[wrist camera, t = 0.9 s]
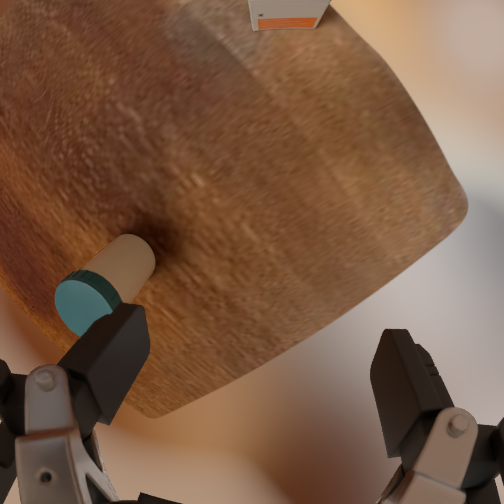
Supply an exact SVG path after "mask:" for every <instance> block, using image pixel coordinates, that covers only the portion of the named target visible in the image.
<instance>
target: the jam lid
mask: <svg viewBox="0 0 504 504" xmlns="http://www.w3.org/2000/svg"><path fill="white" fill-rule="evenodd" d="M121 302H123V301H122V299H121V297H120V295H119V293H118V292H117V290H116V289H115V288H114V287H113V285H112V284H111V283H110V282H109V281H108V280H106V279H105V278H104V277H103V276H101V275H99V274H97V273H96V272H93V271H89V270H80V269H79V270H78V271H75V272H74V271H73V272H72V273H71V274H70V275H68V276H67V277H66V278H65V279H64V280H63V281H62V282H61V284H60V285H59V286H58V287H57V289H56V293H55V304H56V308H57V310H58V313H59V315H60V317H61V318H62V320H63V321H64V323H65V324H66V325H67V326H68V327H69V328H70V329H71V330H72V331H73V332H74V333H75V334H77V335H78V336H80V337H81V336H82V335H83V334H84V333H85V331H86V332H87V329H88V328H89V327H90V326H91V325H92V324H93V322H94V321H95V320H97V319H99V318H101V317H102V316H104V315H106V314H111V313H112V312H113V310H114V309H115V308H116V307H117V306H118V305H119V304H120V303H121Z"/></svg>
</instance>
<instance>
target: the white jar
mask: <svg viewBox="0 0 504 504" xmlns="http://www.w3.org/2000/svg"><path fill="white" fill-rule="evenodd" d="M154 269H155V256H154V253H153V251H152V249H151V248H150V246H149V245H148V244H147V243H146V242H145V241H144V240H143V239H142V238H140V237H138V236H136V235H132V234H123V235H120V236H118V237H116V238H115V239H114V240H113V241H111V242H110V243H109V244H108V245H107V246H106V247H104V248H103V249H102V250H101V251H100V252H99V253H98V254H96V255H95V256H94V257H93V258H92V259H91V260H90V261H89V262H88V263H86V264H85V265H84V266H83V267H82V268H81V269H80V270H89V271H93V272H96V273H97V274H99V275H101V276H103V277H104V278H105V279H106V280H108V281H109V282H110V283H111V284H112V285H113V287H114V288H115V289H116V290H117V292H118V293H119V295H120V297H121V299H122V301H123V302H124V303H130V304H132V302H133V301H134V299H135V298H136V296H137V295H138V294H139V292H140V291H141V289H142V288H143V286H144V285H145V284H146V282H147V281H148V279H149V278H150V276H151V275H152V274H153V272H154Z"/></svg>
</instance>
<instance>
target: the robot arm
mask: <svg viewBox="0 0 504 504" xmlns="http://www.w3.org/2000/svg"><path fill="white" fill-rule="evenodd" d="M149 351H150V339H149V333H148V327H147V321H146V315H145V310H144V307H143V306H142V305H136V304H130V303H124V302H121V303H120V304H119V305H118V306H117V307H116V308H115V309H114V310H113V312H112V313H111V314H106V315H104V316H102V317H101V318H99V319H97V320H95V321H94V322H93V324H92V325H91V326H90V327H89V328H88V329H87V332H86V331H85V333H84V334H83V335H82V336H81V339H78V341H77V342H76V343H75V344H74V345H73V346H72V347H71V349H70V350H69V351H68V352H67V353H66V354H65V356H64V357H63V358H62V359H61V360H60V362H59V363H58V364H57V365H53V364H47V365H42V366H39V367H37V368H35V369H34V370H33V371H31V373H30V374H29V375H21V374H13V373H11V371H10V369H9V367H8V366H7V364H6V362H5V361H3V360H1V359H0V420H1V421H2V422H1V424H0V504H3V503H4V501H5V499H6V497H7V495H8V492H9V491H10V489H11V487H12V485H13V482H14V481H15V479H16V477H17V479H18V487H19V494H20V501H21V504H181V503H177V502H173V501H169V500H165V499H162V498H158V497H154V496H151V495H148V494H144V493H140V495H139V497H138V500H137V501H136V500H121V501H120V500H119V498H118V496H117V494H116V492H115V490H114V488H113V486H112V484H111V483H110V480H109V478H108V476H107V472H106V469H105V466H104V463H103V459H102V456H101V452H100V449H99V445H98V441H97V438H96V433H95V430H94V429H93V428H94V426H95V424H96V422H100V423H103V424H106V425H110V424H111V422H112V420H113V418H114V416H115V414H116V413H117V411H118V409H119V407H120V405H121V404H122V402H123V400H124V398H125V396H126V395H127V393H128V391H129V389H130V387H131V386H132V384H133V382H134V380H135V379H136V377H137V375H138V373H139V372H140V370H141V368H142V366H143V365H144V363H145V361H146V359H147V357H148V355H149ZM434 365H435V364H434V362H433V360H432V358H431V356H430V354H429V353H428V352H427V351H426V350H425V349H424V348H423V347H422V346H421V345H420V344H415V343H414V341H413V339H412V337H411V336H410V333H409V332H408V330H406V329H385V330H384V331H383V333H382V336H381V339H380V342H379V345H378V348H377V351H376V353H375V356H374V359H373V361H372V365H371V369H370V380H371V385H372V388H373V392H374V397H375V401H376V405H377V409H378V413H379V417H380V421H381V426H382V431H383V436H384V440H385V445H386V450H387V455H388V458H392V457H400V456H401V460H402V463H401V465H400V466H399V467H398V469H397V471H396V472H395V474H394V476H393V477H392V479H391V480H390V482H389V484H388V485H387V487H386V488H385V490H384V491H383V493H382V494H381V496H380V497H379V499H378V500H377V502H376V503H375V504H501V502H500V499H499V495H498V490H497V486H496V483H495V478H496V477H497V476H498V475H499V474H500V475H501V478H502V482H503V485H504V418H503V419H502V420H501V421H500V422H499V424H498V425H497V426H490V425H481V424H477V423H476V420H475V418H474V417H473V416H472V415H471V414H470V413H469V412H467V411H466V410H464V409H461V408H457V407H455V406H454V404H453V402H452V400H451V397H450V395H449V393H448V391H447V389H446V387H445V385H444V382H443V380H442V378H441V376H440V375H439V372H438V370H437V368H436V367H435V366H434Z"/></svg>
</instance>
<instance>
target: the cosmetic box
mask: <svg viewBox="0 0 504 504" xmlns="http://www.w3.org/2000/svg"><path fill="white" fill-rule="evenodd" d="M330 1H331V0H248V3H249V9H250V16H251V22H252V28H253V31H260V30H273V29H315V28H316V26H317V25H318V23H319V21H320V19H321V17H322V15H323V14H324V12H325V10H326V8H327V7H328V5H329V3H330Z"/></svg>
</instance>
